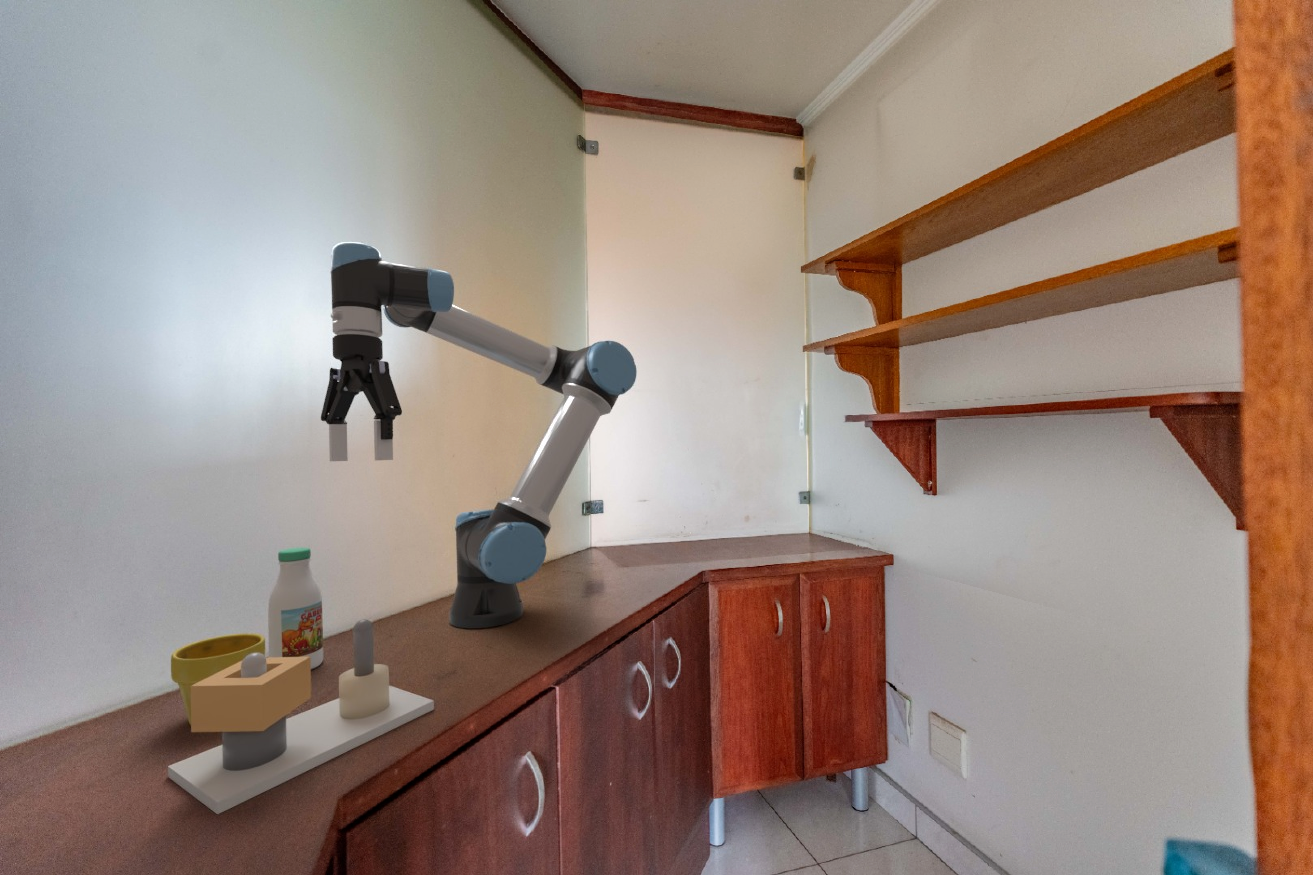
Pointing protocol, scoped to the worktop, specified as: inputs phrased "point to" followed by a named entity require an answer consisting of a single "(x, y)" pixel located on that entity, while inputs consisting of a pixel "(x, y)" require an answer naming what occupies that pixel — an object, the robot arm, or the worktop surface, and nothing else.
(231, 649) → the plant pot
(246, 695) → the collar
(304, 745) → the assembly board
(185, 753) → the worktop surface
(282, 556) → the milk bottle
